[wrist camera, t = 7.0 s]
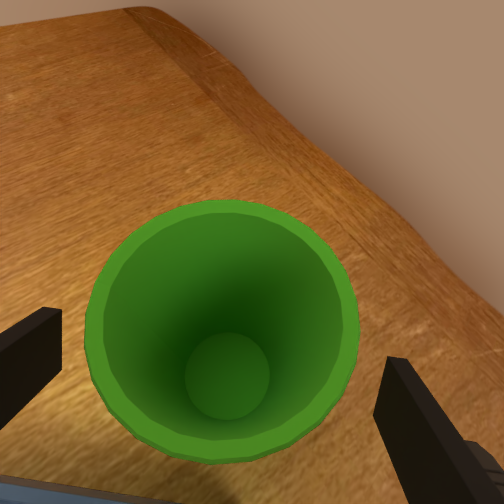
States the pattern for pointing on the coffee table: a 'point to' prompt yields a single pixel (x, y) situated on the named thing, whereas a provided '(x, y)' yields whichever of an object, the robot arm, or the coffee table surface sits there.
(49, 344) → the robot arm
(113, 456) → the coffee table surface
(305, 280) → the cup
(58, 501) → the blue tray
